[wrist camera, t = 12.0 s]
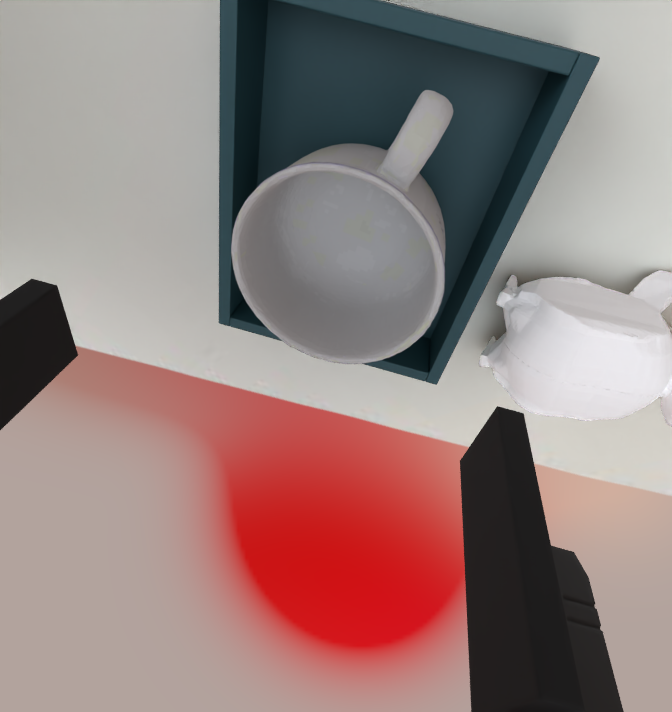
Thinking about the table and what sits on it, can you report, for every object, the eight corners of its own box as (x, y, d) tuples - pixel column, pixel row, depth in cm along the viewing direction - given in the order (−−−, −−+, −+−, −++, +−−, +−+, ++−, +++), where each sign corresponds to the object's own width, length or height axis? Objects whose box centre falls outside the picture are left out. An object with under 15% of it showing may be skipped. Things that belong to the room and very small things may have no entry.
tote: (242, 290, 32) (218, 323, 29) (258, -31, 20) (219, -40, 17) (437, 344, 32) (436, 385, 28) (573, 49, 20) (600, 57, 16)
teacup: (365, 320, 31) (346, 395, 25) (246, 223, 28) (191, 281, 22) (532, 174, 23) (563, 233, 17) (387, 15, 20) (361, 17, 14)
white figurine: (498, 337, 34) (724, 413, 28) (461, 400, 28) (732, 512, 22) (529, 237, 28) (820, 303, 22) (491, 291, 23) (864, 399, 17)
